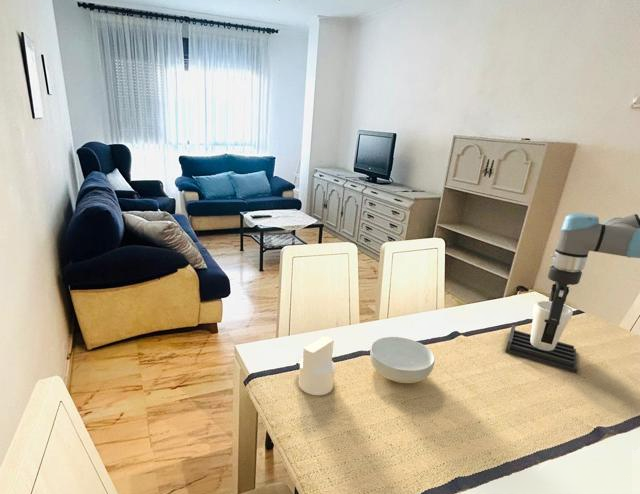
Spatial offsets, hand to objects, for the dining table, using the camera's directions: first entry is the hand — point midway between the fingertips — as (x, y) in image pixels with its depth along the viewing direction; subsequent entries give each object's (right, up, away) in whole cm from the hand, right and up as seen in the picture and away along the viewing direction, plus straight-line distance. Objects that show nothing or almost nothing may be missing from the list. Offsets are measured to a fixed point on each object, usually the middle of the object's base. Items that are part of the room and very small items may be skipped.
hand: (546, 333), depth 117 cm
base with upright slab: (-72, -11, -17) cm, 75 cm away
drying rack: (0, -6, +2) cm, 7 cm away
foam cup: (0, -4, +2) cm, 4 cm away
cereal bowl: (-49, -9, -11) cm, 51 cm away
